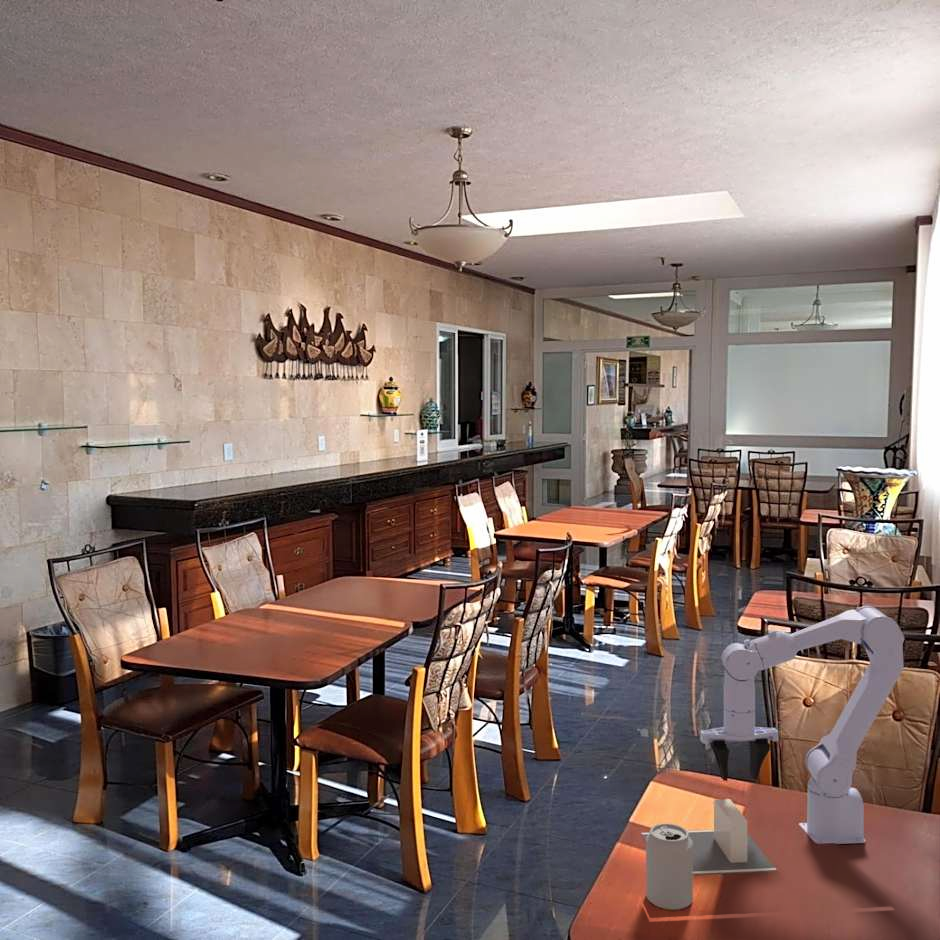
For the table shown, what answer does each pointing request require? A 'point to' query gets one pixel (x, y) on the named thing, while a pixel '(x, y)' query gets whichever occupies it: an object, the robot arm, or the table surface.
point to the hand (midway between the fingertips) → (738, 778)
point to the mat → (723, 856)
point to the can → (669, 867)
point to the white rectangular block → (730, 830)
